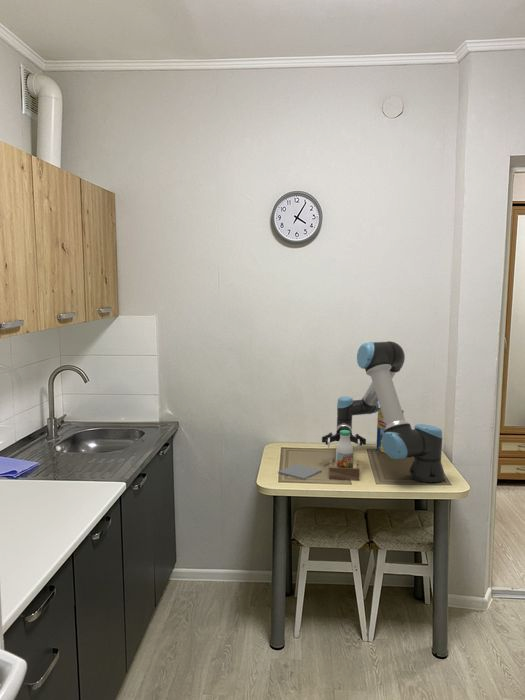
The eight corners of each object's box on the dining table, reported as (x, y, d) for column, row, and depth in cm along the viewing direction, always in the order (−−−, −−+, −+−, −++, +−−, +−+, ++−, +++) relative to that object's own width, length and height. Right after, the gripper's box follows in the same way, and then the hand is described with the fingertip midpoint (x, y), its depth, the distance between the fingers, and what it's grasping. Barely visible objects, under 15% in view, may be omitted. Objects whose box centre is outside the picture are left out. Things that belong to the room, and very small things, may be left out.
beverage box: (385, 447, 300) (387, 406, 296) (401, 453, 291) (403, 410, 287) (376, 449, 296) (377, 407, 293) (392, 455, 287) (394, 412, 284)
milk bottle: (331, 474, 258) (332, 430, 256) (343, 470, 263) (344, 427, 261) (345, 478, 253) (346, 434, 250) (356, 475, 258) (357, 431, 255)
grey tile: (321, 471, 262) (321, 470, 262) (304, 479, 251) (304, 478, 251) (296, 465, 270) (296, 463, 270) (278, 473, 260) (278, 471, 259)
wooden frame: (329, 469, 264) (330, 459, 264) (358, 471, 263) (358, 460, 262) (329, 478, 253) (329, 467, 252) (359, 480, 251) (359, 469, 250)
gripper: (369, 441, 281) (371, 454, 260) (318, 439, 285) (315, 452, 264) (370, 426, 280) (371, 438, 259) (318, 424, 284) (316, 436, 263)
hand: (343, 445), depth 262 cm, fingers open, 13 cm apart
